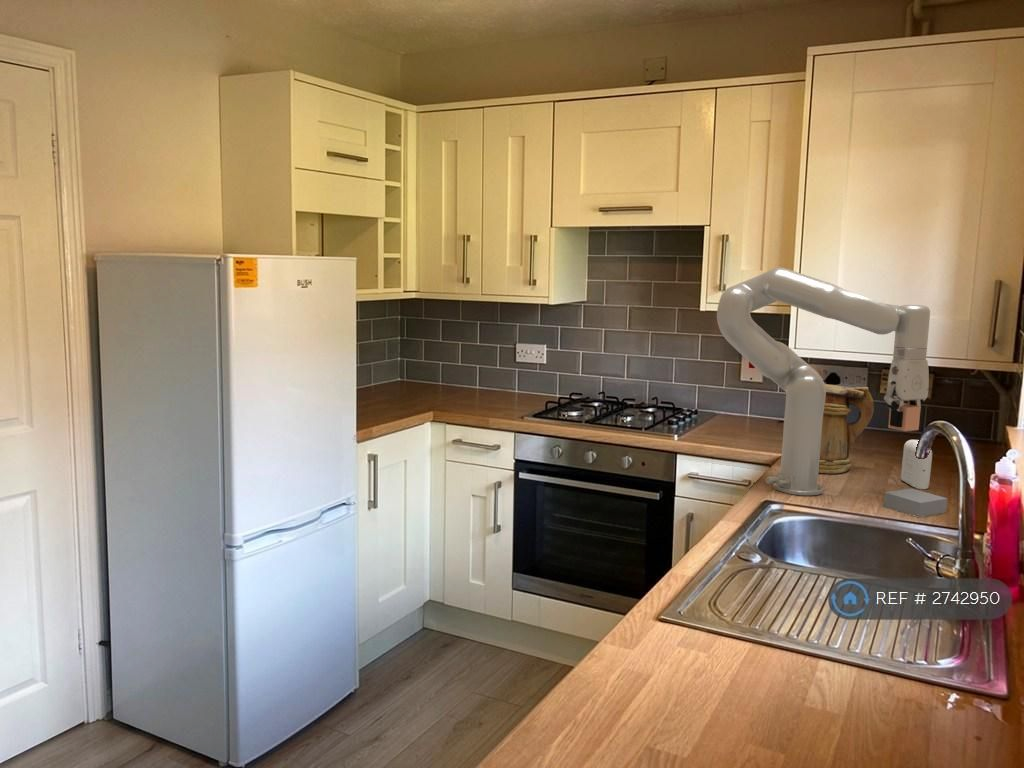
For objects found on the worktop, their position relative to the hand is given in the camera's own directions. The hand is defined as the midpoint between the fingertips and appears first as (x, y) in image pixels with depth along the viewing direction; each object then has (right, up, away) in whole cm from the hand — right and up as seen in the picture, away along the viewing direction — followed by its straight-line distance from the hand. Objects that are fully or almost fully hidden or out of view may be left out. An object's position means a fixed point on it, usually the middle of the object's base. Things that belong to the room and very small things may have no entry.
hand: (903, 424), depth 215 cm
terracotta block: (0, -1, 0) cm, 1 cm away
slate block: (0, -21, -6) cm, 22 cm away
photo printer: (+12, -18, +19) cm, 28 cm away
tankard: (-7, -15, +35) cm, 39 cm away
